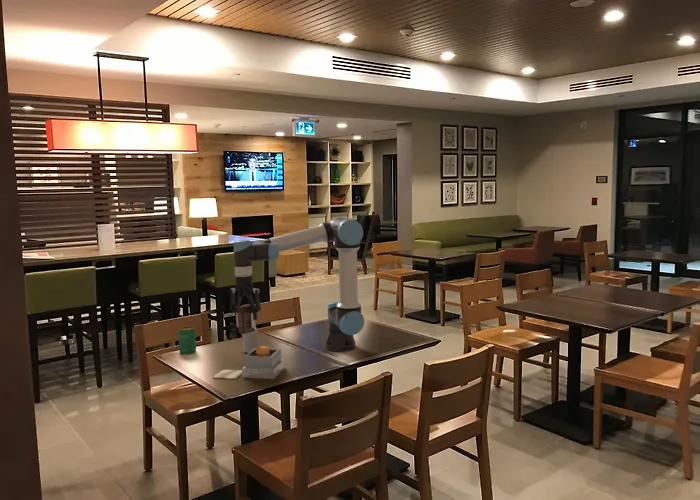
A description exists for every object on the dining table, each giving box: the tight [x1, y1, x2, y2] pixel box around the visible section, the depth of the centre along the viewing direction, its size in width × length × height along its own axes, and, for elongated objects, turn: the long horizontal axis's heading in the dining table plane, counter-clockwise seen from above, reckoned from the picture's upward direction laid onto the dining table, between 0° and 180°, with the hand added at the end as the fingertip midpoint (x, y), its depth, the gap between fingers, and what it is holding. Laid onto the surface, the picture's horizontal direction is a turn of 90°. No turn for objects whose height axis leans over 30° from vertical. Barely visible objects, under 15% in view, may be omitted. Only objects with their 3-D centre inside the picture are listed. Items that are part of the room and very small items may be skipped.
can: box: [242, 326, 260, 354], centre depth 275 cm, size 8×8×12 cm
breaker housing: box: [241, 348, 285, 380], centre depth 244 cm, size 14×14×9 cm
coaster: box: [212, 369, 242, 381], centre depth 242 cm, size 10×10×1 cm
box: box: [237, 303, 254, 335], centre depth 249 cm, size 6×4×12 cm
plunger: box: [256, 345, 270, 356], centre depth 243 cm, size 6×6×4 cm
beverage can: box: [177, 326, 197, 355], centre depth 276 cm, size 8×8×12 cm
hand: (246, 326), depth 250 cm, fingers closed on box, 6 cm apart
